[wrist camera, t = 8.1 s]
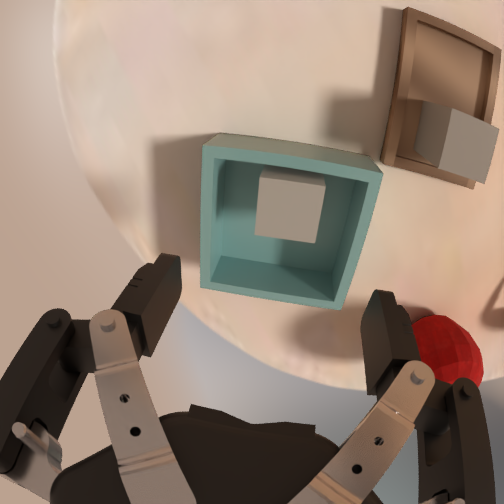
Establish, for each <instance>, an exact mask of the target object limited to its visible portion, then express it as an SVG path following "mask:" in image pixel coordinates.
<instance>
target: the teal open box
mask: <svg viewBox="0 0 504 504" xmlns="http://www.w3.org/2000/svg"><path fill="white" fill-rule="evenodd" d="M265 164H267V165H274V166H280V167H287V168H293V169H300V170H306V171H312V172H317V173H323V175H324V180H325V185H326V188H325V194H324V199H323V205H322V210H321V215H320V220H319V226H318V231H317V235H316V240H315V243H308V242H301V241H294V240H287V239H280V238H273V237H266V236H259V235H254V234H255V223H256V212H257V201H258V190H259V179H260V175H261V173H262V170H263V168H264V165H265ZM382 176H383V173H382V171H381V170H380V169H379V168H378V166H377V165H376V164H375V163H374V161H373V160H372V159H371V158H370V156H367V155H362V154H358V153H353V152H348V151H343V150H338V149H333V148H328V147H322V146H317V145H311V144H305V143H299V142H292V141H286V140H279V139H271V138H264V137H256V136H247V135H238V134H228V133H219V134H217V135H216V136H215V137H213V138H212V139H210V140H209V141H208V142H206V143H205V144H203V146H202V171H201V211H200V288H205V289H211V290H216V291H222V292H227V293H233V294H239V295H245V296H250V297H256V298H262V299H268V300H275V301H281V302H287V303H294V304H300V305H307V306H314V307H320V308H327V309H335V310H341V309H342V306H343V303H344V301H345V298H346V295H347V292H348V289H349V287H350V284H351V281H352V278H353V275H354V272H355V269H356V266H357V263H358V260H359V257H360V254H361V251H362V247H363V244H364V241H365V238H366V235H367V231H368V228H369V224H370V221H371V218H372V214H373V210H374V207H375V203H376V200H377V196H378V192H379V188H380V184H381V180H382Z"/></svg>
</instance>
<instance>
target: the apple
mask: <svg viewBox="0 0 504 504" xmlns="http://www.w3.org/2000/svg"><path fill="white" fill-rule="evenodd" d="M411 326H412V328H413V331H414V333H413V334H414V335H415V338H416V342H417V346H418V350H419V354H420V357H421V361H422V362H423V363H425V364H426V365H428V366H429V367H430V368H431V370H432V371H433V373H434V376H435V378H436V379H438V380H441V381H444V382H447V383H450V384H453V383H454V382H455V380H457V379H458V378H461V377H464V378H468V379H470V380H472V381H473V382H474V383H475V384H476V385H477V387H479V385H480V383H481V381H482V377H483V373H484V371H483V361H482V356H481V352H480V349H479V348H478V346H477V344H476V343H475V341H474V340H473V338H472V337H471V335H470V334H469V332H467V331H466V330H465V329H463V328H462V327H461V326H460V325H458V324H457V323H456V322H454V321H453V320H451V319H450V318H448V317H447V316H442V315H432V316H427V317H423V318H421V319H420V320H418V321H417V322H415V323H414V324H412V325H411Z"/></svg>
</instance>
